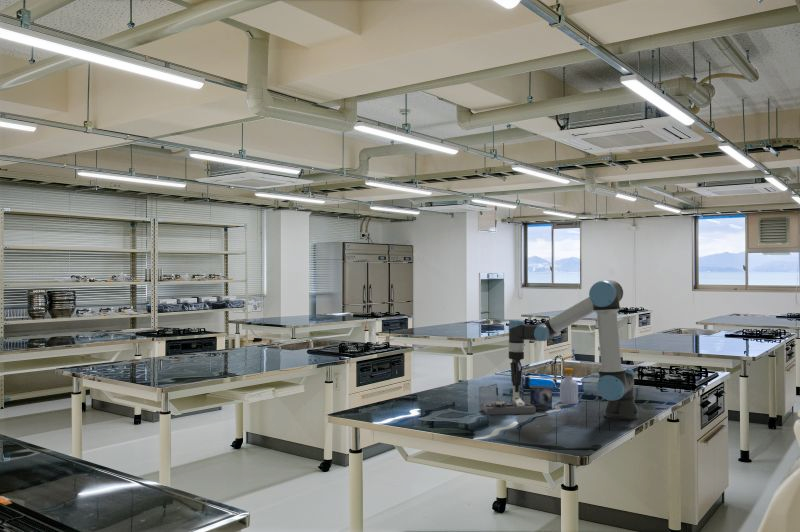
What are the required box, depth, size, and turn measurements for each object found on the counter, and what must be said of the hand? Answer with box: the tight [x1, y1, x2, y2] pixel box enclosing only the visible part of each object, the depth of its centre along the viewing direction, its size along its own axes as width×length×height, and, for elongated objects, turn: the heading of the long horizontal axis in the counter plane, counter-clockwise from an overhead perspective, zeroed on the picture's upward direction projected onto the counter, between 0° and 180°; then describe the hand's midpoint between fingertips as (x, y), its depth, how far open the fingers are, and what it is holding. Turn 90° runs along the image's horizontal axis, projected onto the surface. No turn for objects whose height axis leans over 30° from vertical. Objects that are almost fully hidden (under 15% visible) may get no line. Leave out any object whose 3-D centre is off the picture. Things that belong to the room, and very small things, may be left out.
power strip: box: [481, 400, 549, 415], centre depth 307 cm, size 10×32×5 cm, turn 96°
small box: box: [529, 385, 553, 410], centre depth 316 cm, size 11×6×10 cm, turn 82°
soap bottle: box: [559, 355, 579, 405], centre depth 327 cm, size 9×9×25 cm
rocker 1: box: [492, 400, 505, 404], centre depth 306 cm, size 8×4×1 cm, turn 5°
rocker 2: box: [512, 397, 525, 407], centre depth 307 cm, size 8×4×1 cm, turn 6°
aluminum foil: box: [590, 372, 599, 379], centre depth 395 cm, size 23×7×3 cm, turn 45°
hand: (516, 398), depth 311 cm, fingers closed
